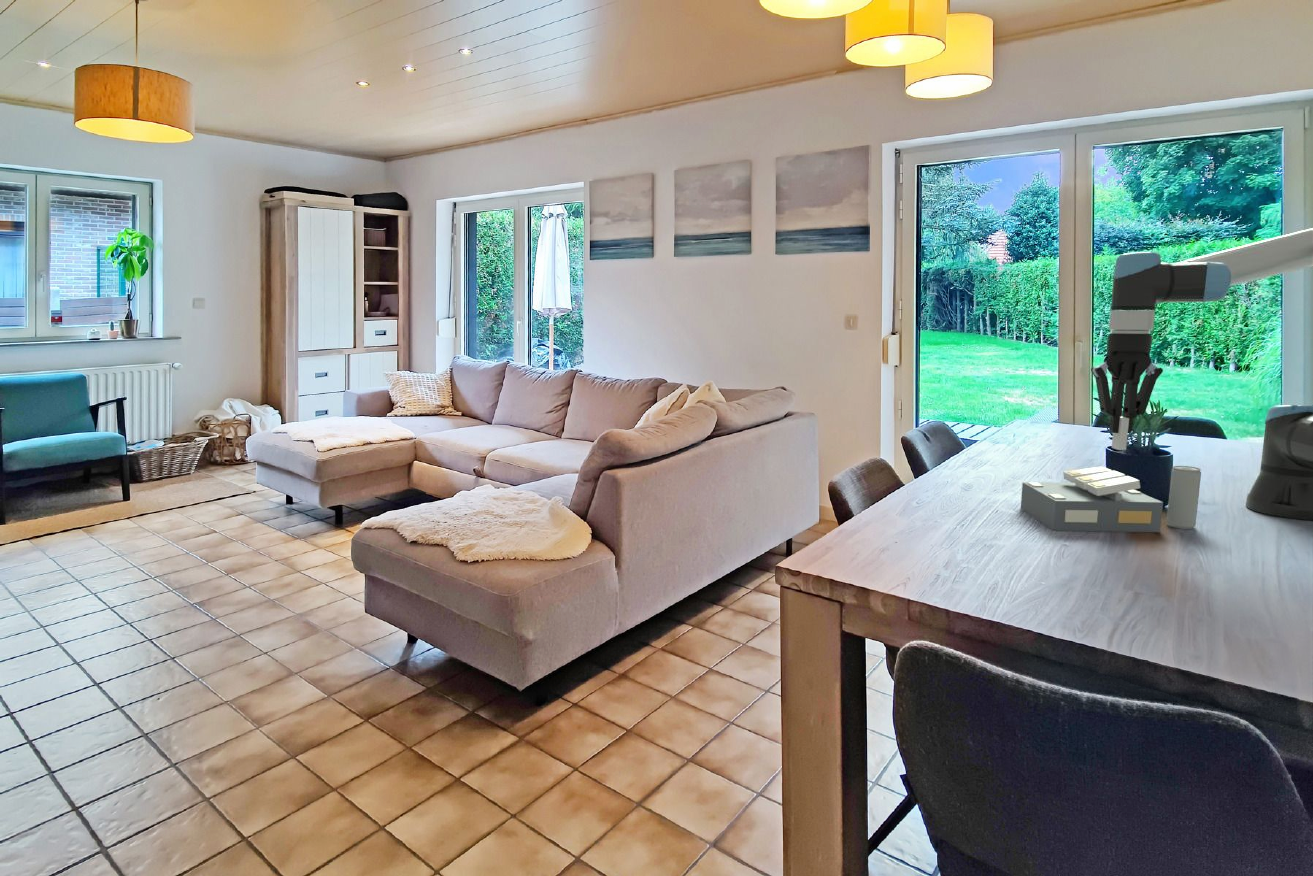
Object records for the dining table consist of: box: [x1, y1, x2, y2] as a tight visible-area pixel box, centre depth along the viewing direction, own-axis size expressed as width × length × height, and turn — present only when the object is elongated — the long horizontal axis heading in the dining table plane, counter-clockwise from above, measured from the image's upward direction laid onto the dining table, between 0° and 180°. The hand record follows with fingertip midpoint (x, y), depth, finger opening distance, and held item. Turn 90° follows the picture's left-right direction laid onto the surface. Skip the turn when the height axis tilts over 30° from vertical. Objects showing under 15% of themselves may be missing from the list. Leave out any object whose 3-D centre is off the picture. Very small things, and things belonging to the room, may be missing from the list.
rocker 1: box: [1062, 465, 1113, 483], centre depth 161 cm, size 8×4×2 cm, turn 84°
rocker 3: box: [1087, 475, 1141, 496], centre depth 150 cm, size 8×4×2 cm, turn 83°
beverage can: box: [1166, 465, 1202, 530], centre depth 150 cm, size 5×5×12 cm
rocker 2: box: [1075, 469, 1126, 490], centre depth 155 cm, size 8×4×2 cm, turn 83°
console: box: [1020, 481, 1164, 533], centre depth 156 cm, size 20×17×7 cm
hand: (1118, 448), depth 154 cm, fingers closed
